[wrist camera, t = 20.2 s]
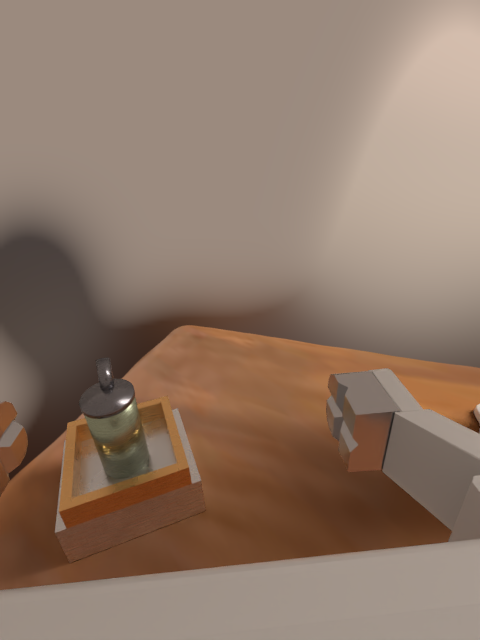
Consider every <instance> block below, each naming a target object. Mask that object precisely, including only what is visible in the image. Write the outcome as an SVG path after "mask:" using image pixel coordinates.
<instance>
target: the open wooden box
mask: <svg viewBox="0 0 480 640" xmlns="http://www.w3.org/2000/svg"><path fill="white" fill-rule="evenodd" d="M137 407H138V411H139V415H140V419H141V423H142V427H143V431H144V435H145V439H146V443H147V447H148V450H149V458H148V461H147V463H146V465H145V466H144V467H143V468H142V469H141V470H140V471H139V472H138V473H136V474H135V475H133V476H130V477H128V478H123V479H115V478H111V477H109V476H108V475H107V474H106V473H105V471H104V469H103V466H102V463H101V460H100V458H99V455H98V452H97V449H96V447H95V444H94V441H93V438H92V435H91V433H90V430H89V427H88V424H87V421H86V419H85V418H84V419H80V420H77V421H73V422H70V423H68V426H67V435H66V440H65V441H64V450H63V460H62V469H61V479H60V488H59V498H58V508H57V517H56V527H55V534H56V536H57V538H58V540H59V542H60V544H61V546H62V548H63V550H64V552H65V555H66V557H67V559H68V561H69V563H72V562H74V561H77V560H79V559H82V558H85V557H87V556H90V555H92V554H95V553H97V552H100V551H103V550H105V549H108V548H110V547H113V546H116V545H118V544H121V543H123V542H126V541H128V540H131V539H134V538H136V537H139V536H141V535H144V534H146V533H149V532H152V531H154V530H157V529H159V528H162V527H165V526H167V525H170V524H172V523H175V522H177V521H180V520H183V519H185V518H188V517H190V516H193V515H196V514H198V513H201V512H203V511H206V510H205V503H204V496H203V489H202V483H201V478H200V475H199V472H198V469H197V466H196V463H195V460H194V457H193V454H192V451H191V448H190V445H189V442H188V439H187V435H186V432H185V429H184V426H183V423H182V420H181V417H180V414H179V411H178V408H177V409H174V410H172V409H171V405H170V402H169V399H168V396H165V397H161V398H158V399H154V400H150V401H147V402H143V403H139V404H137Z"/></svg>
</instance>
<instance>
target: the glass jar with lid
mask: <svg viewBox="0 0 480 640" xmlns="http://www.w3.org/2000/svg"><path fill="white" fill-rule="evenodd" d="M96 365H97V371H98V377H99V383H97V384H95V385H93V386H92V387H90V388H89V389H87V390H86V391H85V393H83V395H82V396H81V398H80V401H79V405H80V408H81V411H82V413H83V414H84V416H85V419H86V421H87V424H88V427H89V430H90V433H91V435H92V438H93V441H94V444H95V447H96V449H97V452H98V455H99V458H100V460H101V463H102V466H103V469H104V471H105V473H106V474H107V475H108V476H109V477H111V478H115V479H123V478H128V477H130V476H133V475H135V474H136V473H138V472H139V471H140V470H141V469H142V468H143V467H144V466H145V465H146V463H147V461H148V458H149V450H148V447H147V443H146V439H145V435H144V431H143V427H142V423H141V419H140V415H139V411H138V407H137V403H136V399H135V391H134V387H133V385H132V384H131V383H130V382H129V381H127V380H123V379H113V374H112V369H111V363H110V358H101V359H98V360H96Z"/></svg>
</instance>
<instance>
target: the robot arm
mask: <svg viewBox="0 0 480 640" xmlns="http://www.w3.org/2000/svg"><path fill="white" fill-rule="evenodd" d="M328 388H329V390H330V392H331V396H330V397H329V399H328V400H327V406H326V413H327V421H328V425H329V429H330V431H331V434H332V436H333V437H334V438H336V439H337V440H338V441H339V448H338V451H339V453H340V455H341V458H342V460H343V462H344V465H345V467H346V469H347V472H358V471H373V470H383V471H382V472H383V473H385V474H386V475H387V476H388V477H389V478H390V479H392V480H393V481H394V482H395V483H396V484H397V485H399V486H400V487H401V488H402V489H403V490H405V491H406V492H407V493H408V494H409V495H410V496H412V497H413V498H414V499H415V500H416V501H417V502H419V503H420V504H421V505H422V506H423V507H424V508H426V509H427V510H428V511H429V512H430V513H431V514H433V515H434V516H435V517H436V518H437V519H439V520H440V521H441V522H442V523H443V524H444V525H446V526H447V527H448V528H449V529H450V530H451V531H452V533H451V535H450V538H449V541H448V542H445V543H436V544H427V545H417V546H408V547H399V548H389V549H380V550H371V551H361V552H352V553H343V554H333V555H324V556H315V557H306V558H296V559H287V560H278V561H269V562H259V563H250V564H241V565H232V566H223V567H213V568H204V569H195V570H186V571H176V572H167V573H158V574H149V575H139V576H130V577H121V578H111V579H102V580H93V581H83V582H74V583H64V584H55V585H46V586H36V587H27V588H18V589H8V590H0V640H480V430H479V433H477V432H475V431H473V430H471V429H468V428H466V427H464V426H462V425H460V424H458V423H456V422H454V421H452V420H450V419H448V418H446V417H444V416H442V415H440V414H438V413H436V412H434V411H432V410H430V409H426V410H423V408H422V407H421V406H420V405H419V404H418V402H417V401H416V400H415V399H414V397H413V396H412V395H411V394H410V393H409V391H408V390H407V389H406V388H405V387H404V385H403V384H402V383H401V382H400V380H399V379H398V378H397V377H396V376H395V374H394V373H393V372H392V371H391V370H390V369H387V368H386V369H377V370H368V371H364V372H353V373H341V374H331V375H330V377H329V382H328ZM474 414H475V417H476V418H477V420H478V422H479V424H480V404H478V405H477V406H476V407H475V409H474ZM16 415H17V412H16V410H15V408H14V406H13V404H12V403H9V402H6V401H3V402H0V496H1V494H2V493H3V491H4V490H5V488H6V486H7V485H8V483H9V481H10V480H9V475H8V473H9V472H11V471H12V470H13V469H15V468H16V467H17V466H19V465H20V463H21V461H22V460H23V458H24V456H25V453H26V449H27V444H28V442H27V434H26V432H25V429H24V427H23V426H21V425H20V424H18V423H17V422H15V421H14V420H15V418H16Z"/></svg>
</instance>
